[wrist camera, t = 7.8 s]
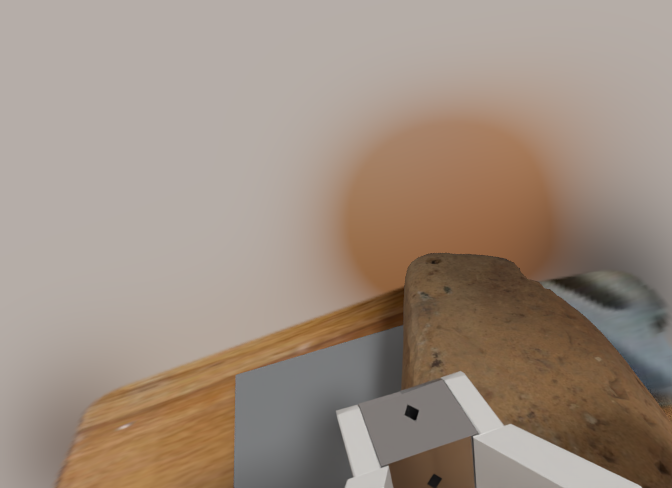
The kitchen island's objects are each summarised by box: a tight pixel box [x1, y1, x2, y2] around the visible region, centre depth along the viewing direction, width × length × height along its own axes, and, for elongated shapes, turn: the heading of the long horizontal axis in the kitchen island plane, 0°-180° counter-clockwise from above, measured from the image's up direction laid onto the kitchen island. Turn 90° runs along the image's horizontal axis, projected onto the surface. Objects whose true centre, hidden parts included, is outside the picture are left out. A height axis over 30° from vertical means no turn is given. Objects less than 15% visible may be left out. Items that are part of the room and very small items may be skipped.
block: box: [401, 253, 672, 488], centre depth 21 cm, size 11×8×20 cm
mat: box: [234, 325, 403, 488], centre depth 25 cm, size 16×18×1 cm
